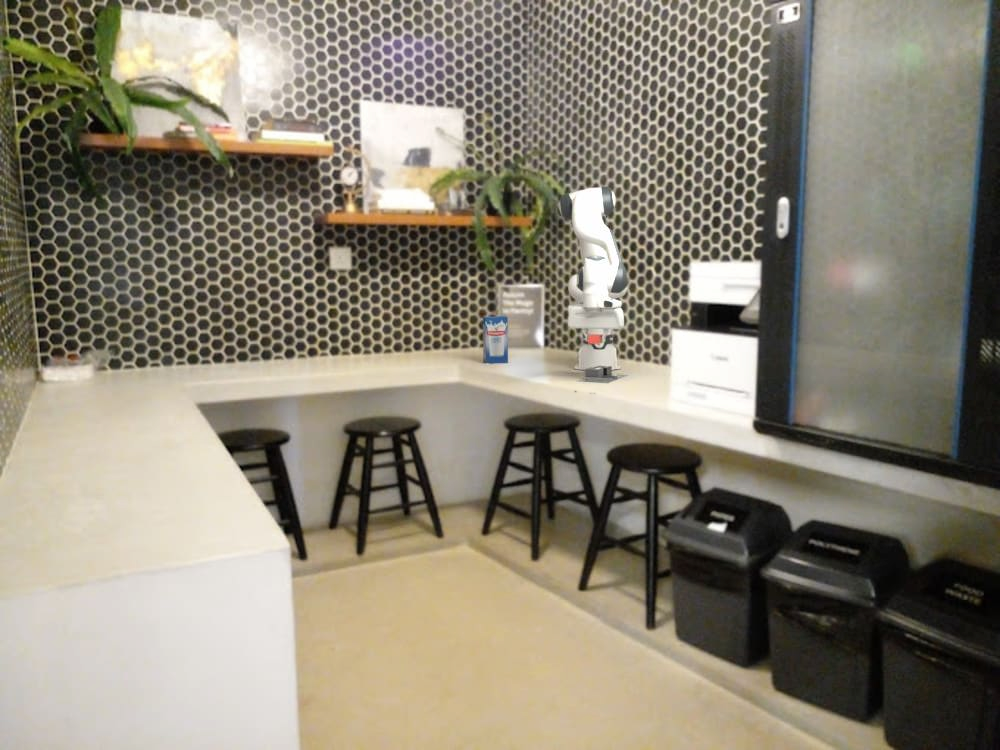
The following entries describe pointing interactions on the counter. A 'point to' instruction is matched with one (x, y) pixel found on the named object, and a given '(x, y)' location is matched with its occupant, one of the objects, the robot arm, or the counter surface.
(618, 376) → the panel
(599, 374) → the breaker
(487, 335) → the milk carton
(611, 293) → the robot arm
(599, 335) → the red block
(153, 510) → the counter surface
